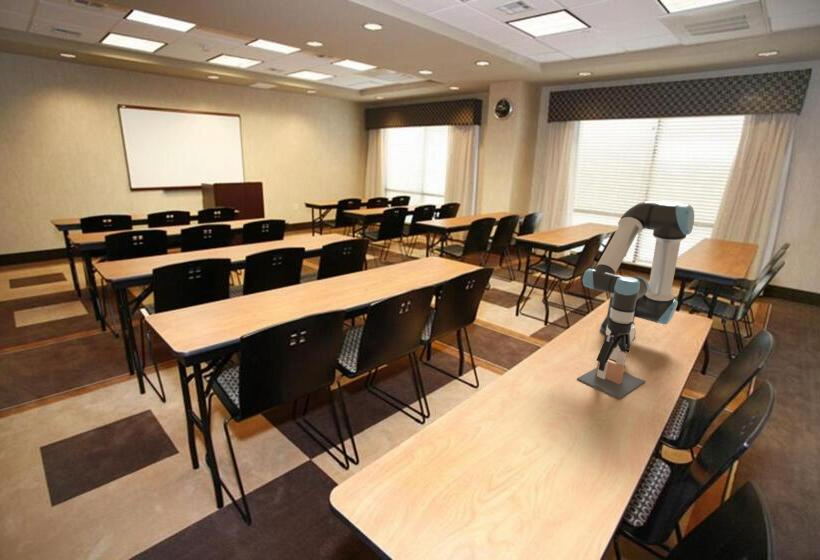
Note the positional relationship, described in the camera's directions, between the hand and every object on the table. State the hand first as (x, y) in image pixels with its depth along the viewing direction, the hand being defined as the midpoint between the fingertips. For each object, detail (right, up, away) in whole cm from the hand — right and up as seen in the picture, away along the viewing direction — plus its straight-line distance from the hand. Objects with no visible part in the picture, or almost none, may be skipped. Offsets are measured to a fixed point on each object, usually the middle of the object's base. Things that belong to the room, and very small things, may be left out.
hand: (610, 372), depth 152 cm
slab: (-1, -3, +1) cm, 3 cm away
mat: (0, -3, 0) cm, 3 cm away
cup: (+11, +2, +19) cm, 22 cm away
